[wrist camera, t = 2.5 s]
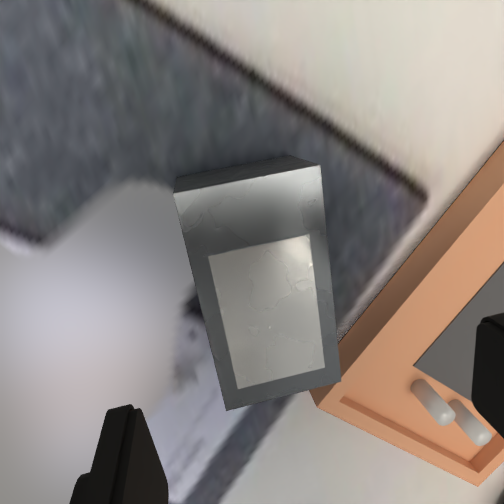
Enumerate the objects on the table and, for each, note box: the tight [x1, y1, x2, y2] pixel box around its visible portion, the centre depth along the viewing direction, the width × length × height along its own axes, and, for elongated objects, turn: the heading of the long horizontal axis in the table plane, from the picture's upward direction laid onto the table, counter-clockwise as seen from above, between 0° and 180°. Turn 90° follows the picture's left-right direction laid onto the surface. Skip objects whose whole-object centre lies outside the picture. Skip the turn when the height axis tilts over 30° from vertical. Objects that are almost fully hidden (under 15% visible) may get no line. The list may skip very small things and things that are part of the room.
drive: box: [173, 155, 341, 411], centre depth 19 cm, size 11×6×5 cm, turn 9°
